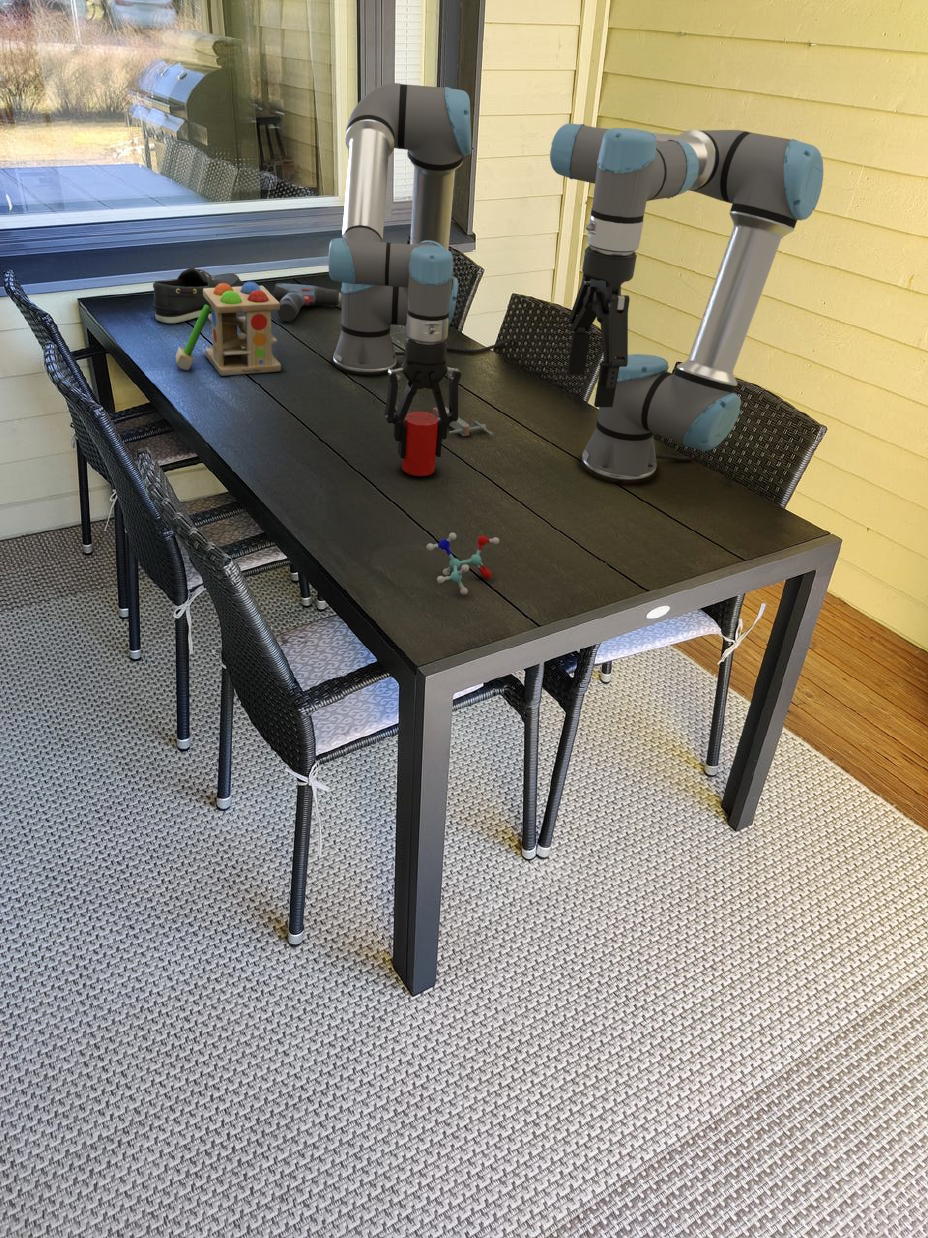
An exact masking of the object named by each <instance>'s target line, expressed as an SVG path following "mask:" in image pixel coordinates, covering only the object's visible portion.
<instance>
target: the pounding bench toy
mask: <svg viewBox="0 0 928 1238" xmlns="http://www.w3.org/2000/svg"><path fill="white" fill-rule="evenodd" d="M203 296H204V297H205V299H206V300H207V301H208V302H209V304H210V305H211V307H210V306H208V305H204V307H203V309H202V311H201V314H200V316H199V317H197V320H196V322H195V324H194V327H193V329H192V331H191V332H190V333H191V334H190V336H189V338H188V340H187V343H186V344H185V347H184V348H182V347H180V346H179V347H178V349H177V351H176V354H175V357H174V358H175V362H176V365H177V366H178V368H179V369H182V370H185V371H189V370H190V369H191V367H192V365H193V363H194V356H193V351H194V348H195V347H196V345H197V342H198V340H199V337H200V336H201V333H202V332H203V329H204V326H205V325H206V322H207V320H209V321H210V322H211V336H212V337H211V338H212V339H211V340H212V348H205V349H204V352H205V353H204V355H205V357H206V359H208V361H209V363H210V364H211V365H212V366H213V367H214V369H215V370H216V371H217V372H218V374H219V375H220V376H222V377H223V376H234V375H235V376H236V375H246V374H247V375H250V374H262V373H275V372H281V370H282V364H281V363H280V362H279V360H278V359H277V358H276V357H275V356H274V355H273V348H272V347H273V345H272V344H276V343H278V342H279V341H278V339H277V338H276V337H275V336H274V334H272V311H278V310H280V302H278V301H277V300H276V299H275V296H273V295H272V294H271V293H270V292H269V290H268V289H267V288H266V287H264V285H259V284H257V283H256V282H255V281H247V282H245V283H244V284H242V287H231V286H230V285H228V284H226V283H221V284H218V285H217V286H216V287H215V288H204V289H203ZM210 310H211V311H210ZM238 313H244V314H245V315H244V316H238ZM238 329H239V331H240V333H239V334H238Z"/></svg>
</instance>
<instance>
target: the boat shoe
mask: <svg viewBox="0 0 928 1238" xmlns="http://www.w3.org/2000/svg"><path fill="white" fill-rule="evenodd" d="M221 283H226V284H228V285H230V286H231V287H242V286H243V281H242V280H241V279H240V277H239V276H238V275H237V274H235V273H231V272H230V273H228V272H227V273H223V274H217V275H213V276H212V275H211V274H210V273H209V272H207V271H205V270H204V269H199V268H195V267H189V268H187V269H184V270H183V271H182V272H180V274H179V275H178V276H177V278H176V279H170V280H169V279H168V280H156V281H153V282H152V289H153V304H152V308H154V310H155V311H154V317H155V320H156V321H159V322H160V323H164V324H176V323H177V324H178V323H183V322H186V321H190V320H193V319H198V318H199V316H200V314H201V311H202V309H203V307H204V305H208V306H210V307H211V305H210V304H209V302H208V301H207V300H206V299H205V297H204V296H203V289H204V288H215V287H216V286H217V285H218V284H221ZM210 312H211V310H210Z"/></svg>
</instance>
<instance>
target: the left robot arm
mask: <svg viewBox="0 0 928 1238" xmlns="http://www.w3.org/2000/svg"><path fill="white" fill-rule="evenodd" d="M471 127H472V125H471V101H470V96H469V94H468V93H467V92H466V91H465V90H462V89H458V88H457V89H456V88H450V87H448V86H444V87H441V86H440V87H439V86H428V85H417V84H405V83H400V82H399V83H398V82H391V83H384V84H382V85H380V86H378V87H375V88H374V89H372V90H371V91H369V92H368V93H367V94H366V95H365V96H363V98H361V100H360V101H358V103H357V104H356V106H355V107H354V109H353V110H352V112H351V114H350V116H349V118H348V121H347V124H346V127H345V146H346V148H347V150H348V151H349V153H348V164H347V165H348V166H347V177H346V188H345V189H346V190H345V199H344V211H343V222H342V235H341V237H339V238H332V239H331V240H330V242H329V246H328V276H329V278H330V280H332V281H334V282H337V283H341V288H340V293H341V294H342V302H341V320H340V321H341V324H340V325H341V326H340V329H341V330H340V336H339V338H338V341H337V344H336V348H335V350H334V352H333V361H332V362H333V363H332V364H333V366H334V367H335V368H337V369H338V370H339V371H342V372H344V373H347V374H352V375H356V376H380V375H381V376H382V375H386V374H387V377H388V380H389V381H388V388H387V396H386V403H385V409H384V410H385V412H384V417H385V420H386V422H387V423H388V424H392V425H393V437H394V440H395V442H397V443H398V445H397V453H398V456H399V458H400V459H401V460H403V458H405V443H406V425H405V417H406V415H407V414H408V412H409V409H410V407H411V404H412V402H413V399H414V397H415V395H416V394H417V393H418V390H423V389H426V390H431V392H432V395H433V398H434V399H433V400H434V402H435V405H436V407H437V409H438V413H439V416H440V420H438V433H437V446H436V458H441V456H442V444H443V443H442V442H443V440H447V438H448V432H449V431H448V430H449V428H448V427H450V422H452V421H457V420H458V417H459V383H460V380H461V377H462V372H461V371H460V370H459V368H458V367H456V366H454V367H449V366H448V365H447V362H446V361H447V352H448V351H449V352H456V353H463V354H480V353H485V352H489V351H491V350H494V349H497V348H500V347H502V346H503V345H505V344H507V343H509V342H508V340H507V339H508V338H505V339H503V340H501V341H500V342H498V343H495V344H492V345H489V346H486V347H483V348H478V349H466V348H459V347H453V346H448V342H447V339H448V334H449V325H451V323H452V320H453V318H454V314H455V310H456V304H457V297H458V292H459V291H458V290H459V280H458V278H457V277H454V256H453V253H452V251H450V249H449V247H450V236H451V235H450V233H451V224H452V223H451V221H452V211H453V198H454V189H455V188H454V187H455V178H456V177H455V176H456V170H457V169H458V168H460V167H461V166H462V165H463V163H464V157H466V156H469V155H471V154H472V131H471V130H472V128H471ZM394 149H397V150H405V151H407V154H406V155H407V156H406V157H407V160H408V161H409V163H411V165H413V166H414V167H413V183H412V200H411V201H412V203H411V218H410V219H411V220H410V221H411V223H410V241H409V242H410V243H398V242H397V243H396V242H387V241H386V242H385V241H384V230H385V229H384V228H385V227H384V226H385V213H386V211H385V210H386V200H387V199H386V198H387V183H388V171H389V170H388V168H389V157H390V156H391V155H392V153H393V151H394ZM391 325H394V326H406V328H405V335H406V336H407V337H406V338H405V346H404V347H405V348H404V351H395V347H394V343H393V341H392V337H391V336H392V335H391ZM510 343H513V344H514V345H517V344H516V343H515V342H512V341H511V342H510ZM398 356H399V357H404V361H403V363H402V365H401V367H398V368H397V361H398V360H397V357H398ZM403 375H404V377H405V378H406V380H407V382H406V384H405V389H404V391H403V393H402V396H401V399H400V402H399V404H398V407H397V409H396V406H397V397H398V392H399V382H401V380H402V376H403ZM445 376H447V379H448V409H449V413H446V409H445V407H446V406H445V402H444V399H443V395H442V390H441V386H440V382H441V381H442V380H443V378H444V377H445Z"/></svg>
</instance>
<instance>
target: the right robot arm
mask: <svg viewBox="0 0 928 1238" xmlns="http://www.w3.org/2000/svg"><path fill="white" fill-rule="evenodd" d="M550 146H551V147H550V151H549V162H550V166H551V168H552V169H553V171H554V173H556V174H557V175H559V176H562V177H565V178H568V179H569V180H576V181H581V182H585V183H590V184H594V190H593V197H592V206H591V208H590V209H591V210H590V217H589V223H586V224H585V230H586V231H587V237H586V243H587V244H588V246H586V248H585V249H584V254H583V260H582V268H581V269H582V270H581V271H582V278H581V283H580V286H579V288H578V292H577V295H576V297H575V300H574V303H573V306H572V308H571V312H570V314H569V318H568V324H570V325H571V331H572V336H571V342H570V349H569V356H568V363H567V369H566V373H567V375H585V372H586V364H587V359H588V352H589V347H590V340H591V334H590V333H592V332H593V326H592V325H593V324H594V322H595V320H597V322H598V323H599V324H600V335H601V344H602V355H603V356H602V357H603V360H602V361H600V363H599V372H598V379H597V385H596V390H595V396H594V402H593V407H594V408H598V412H597V418H596V419H597V420H596V424H595V428H594V431H593V433H592V435H591V436H590V438H589V439H588V442H587V444H586V445H585V447H584V450H583V451H582V453H581V458H580V459H581V460H580V465H581V468H582V469H583V470H584V471H585V472H586V473H587V474H589V476H590V475H591V476H592V477H594V478H597V479H598V480H602V481H604V482H607V483H613V484H619V485H638V484H643V483H647V482H649V481H651V480H652V479H653V478H654V477H655V475H656V470H657V465H658V463H657V459H664V460H665V459H666V460H674V461H675V460H676V461H690V459H691V456H689V455H688V456H677V455H670V454H656V449H655V441H654V436H655V435H657V436H660V437H662V438H666V439H668V440H670V441H672V442H676V443H679V444H681V445H683V446H684V447H685V448H692V449H695V450H698V451H702V452H708V451H711V450H713V449H715V448H716V447H718V446H719V445H720V444H721V443H722V442H723V441H724V440H725V439H726V438H727V437H728V435H730V432H731V431H732V429H733V428H734V426H735V424H736V422H737V420H738V419H739V415H740V412H741V406H742V399H741V398H740V396H739V395H738V394H737V393H735V391H736V389H737V386H738V381H737V379H736V377H735V374H734V370H735V368H736V365H737V362H738V359H739V356H740V354H741V351H742V348H743V346H744V342H745V340H746V337H747V335H748V332H749V329H750V327H751V323H752V321H753V319H754V318H753V317H754V315H755V313H756V309H757V308H758V303H759V302H760V299H761V296H762V293H763V290H764V288H765V285H766V283H767V279H768V276H769V274H770V271H771V268H772V266H773V263H774V260H775V259H776V258H775V257H776V254H777V252H778V249H779V247H780V244H781V241H782V239H783V238H784V237H786V236H788V235H790V234H791V233H792V232H794V231H795V228H796V225H797V223H798V221H804V220H807V219H809V218H810V216H812V214H813V212H814V210H815V209H816V207H817V205H818V203H819V199H820V196H821V193H822V192H821V191H822V188H823V183H824V182H823V181H824V160H823V157H822V156H823V155H822V153H821V152H820V150H819V148H818V147H816V146H815V145H813V144H810V143H807V142H803V141H800V140H798V139H795V138H792V139H791V138H785V137H779V136H774V135H769V134H761V133H756V132H750V131H747V130H741V129H714V130H713V129H712V130H710V129H709V130H707V129H705V130H704V129H703V130H701V129H699V130H698V129H690V130H686V131H683V132H682V133H680V134H670V133H660V132H652V131H648V130H645V129H639V128H629V127H612V128H604V127H596V126H591V125H585V124H583V123H579V124H578V123H571V122H568V123H565V124H563V125H562V126H561V127H560V128H559V129H557V131H556V132H555V134H554V136H553V137H552V141H551V145H550ZM689 191H690V192H694V193H696V194H697V193H698V194H701V195H704V196H706V197H710V198H712V199H714V200H718V201H720V202H725V203H728V204H731V208H730V209H729V213H728V214H729V216H730V219H731V221H732V223H733V228H732V231H731V233H730V236H729V239H728V242H727V246H726V248H725V250H724V253H723V256H722V260H721V262H720V265H719V268H718V270H717V274H716V277H715V280H714V283H713V285H712V289H711V291H710V295H709V297H708V300H707V304H706V305H705V309H704V312H703V314H702V317H701V320H700V323H699V326H698V328H697V332H696V335H695V337H694V341H693V343H692V346H691V349H690V353H689V354H688V358H687V359H686V360H684V361H682V362H681V363H679V364H677V365H676V368H675V370H674V373H672V372H670V371H668V370H669V368H670V366H669V362H668V360H667V359H666V358H664V357H661V356H657V355H653V354H645V353H644V354H643V353H631V354H630V353H629V308H630V295H627V294H622V285H623V284H624V283H626V282H630V281H631V280H633V278H634V274H635V270H636V269H635V268H636V263H637V258H638V255H637V253H636V252H635V251H638V249H639V248H640V245H641V244H640V243H641V238H642V231H643V226H644V221H645V220H644V218H645V213H646V206H647V202H649V201H657V200H661V199H662V200H663V199H668V200H669V199H671V198H674V197H676V196H679V195H682V194H685V193H686V192H689ZM589 332H590V333H589Z"/></svg>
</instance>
